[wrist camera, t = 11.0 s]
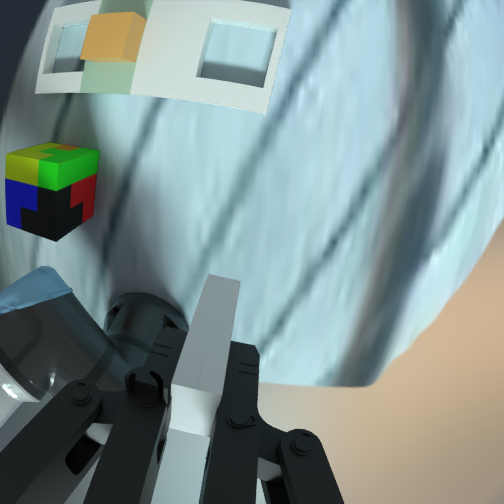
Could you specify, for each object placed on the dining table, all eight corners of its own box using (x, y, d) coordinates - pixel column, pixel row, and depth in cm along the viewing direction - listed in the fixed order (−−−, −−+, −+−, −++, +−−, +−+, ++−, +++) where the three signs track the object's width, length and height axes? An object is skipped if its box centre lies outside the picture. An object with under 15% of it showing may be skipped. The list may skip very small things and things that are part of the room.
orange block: (135, 62, 30) (121, 57, 26) (96, 62, 29) (79, 58, 26) (146, 20, 27) (134, 11, 23) (106, 21, 27) (91, 14, 23)
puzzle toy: (46, 202, 41) (6, 224, 32) (49, 142, 36) (6, 153, 27) (93, 215, 41) (56, 241, 32) (100, 150, 37) (58, 163, 28)
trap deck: (266, 114, 34) (266, 114, 32) (44, 93, 33) (34, 93, 31) (290, 15, 29) (291, 9, 26) (63, 11, 27) (54, 8, 25)
